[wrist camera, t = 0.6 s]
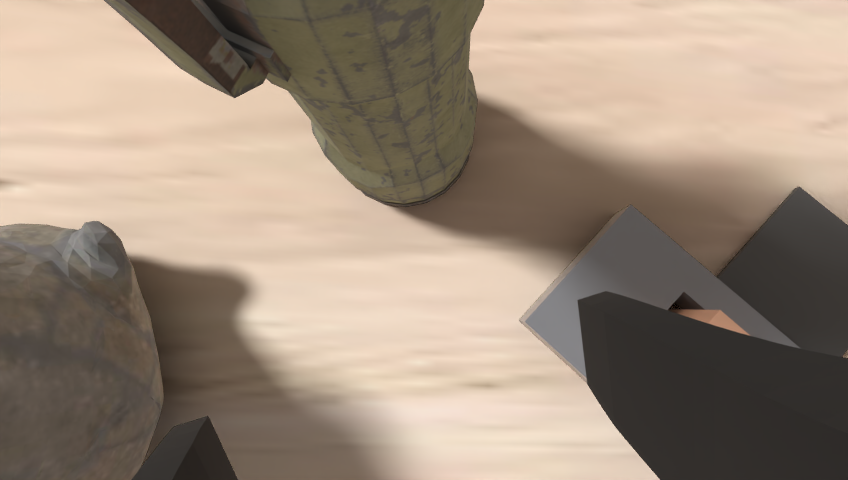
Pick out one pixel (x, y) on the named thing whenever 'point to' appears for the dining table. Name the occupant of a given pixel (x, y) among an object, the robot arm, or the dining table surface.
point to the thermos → (342, 76)
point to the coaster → (797, 274)
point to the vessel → (73, 356)
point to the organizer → (634, 286)
